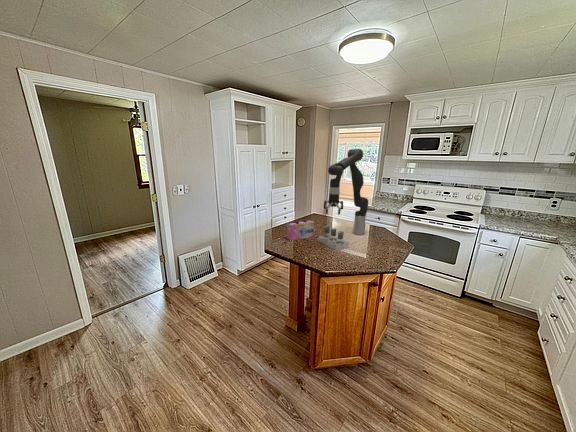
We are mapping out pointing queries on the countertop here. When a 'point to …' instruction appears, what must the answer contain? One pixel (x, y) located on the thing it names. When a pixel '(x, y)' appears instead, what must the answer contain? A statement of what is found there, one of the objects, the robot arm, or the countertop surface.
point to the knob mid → (333, 232)
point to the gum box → (300, 229)
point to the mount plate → (333, 242)
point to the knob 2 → (340, 235)
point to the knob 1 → (327, 229)
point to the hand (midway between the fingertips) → (332, 214)
